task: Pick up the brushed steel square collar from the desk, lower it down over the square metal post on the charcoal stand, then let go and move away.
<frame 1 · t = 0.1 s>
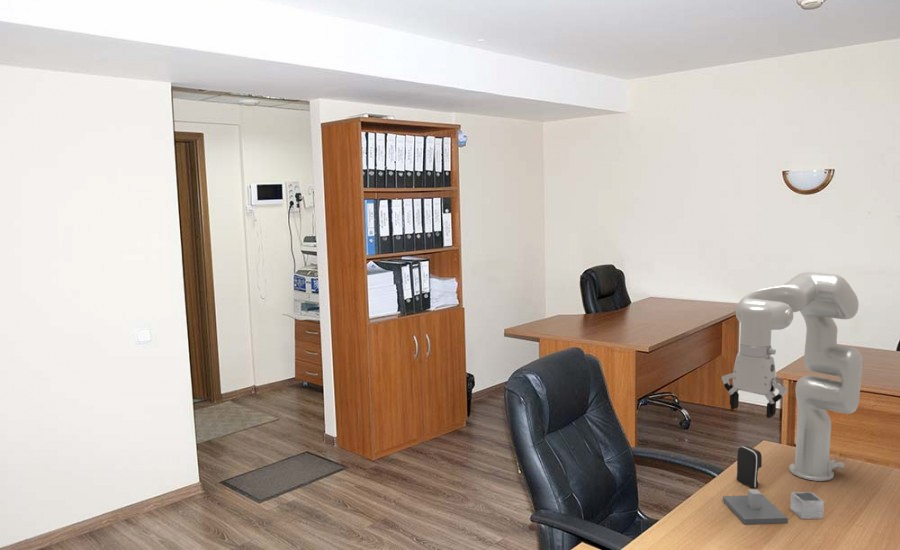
hand: (752, 412, 186), 31 cm above the table, tool pointing down, fingers open, 9 cm apart
stand: (753, 511, 195), on the table
collar: (806, 513, 193), on the table
battery charger: (748, 484, 213), on the table
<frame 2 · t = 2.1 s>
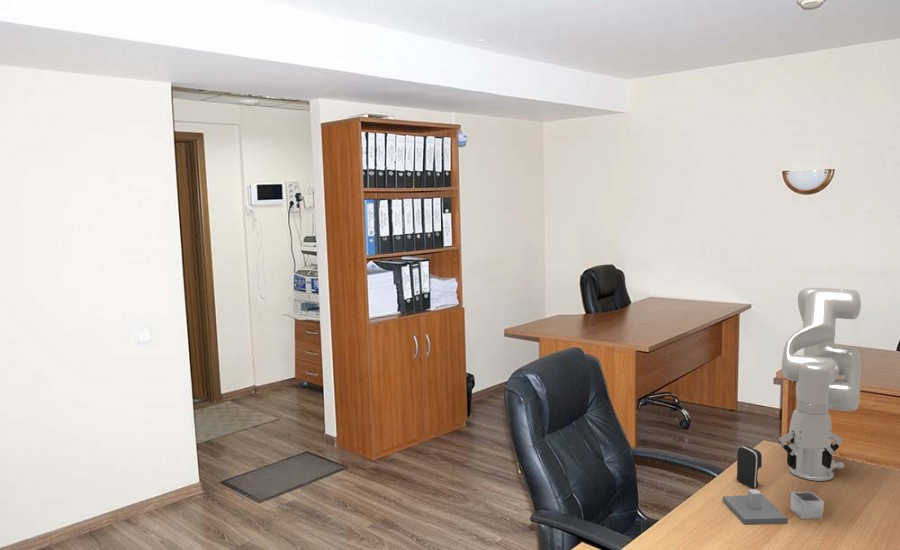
hand: (808, 467, 191), 14 cm above the table, tool pointing down, fingers open, 9 cm apart
nothing on the table moved.
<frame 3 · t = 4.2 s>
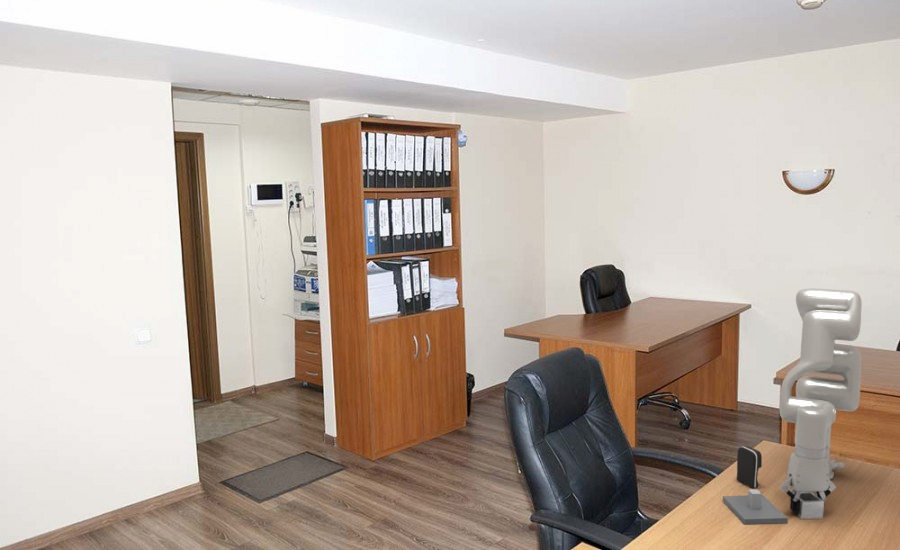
hand: (806, 511, 193), 1 cm above the table, tool pointing down, fingers closed on collar, 5 cm apart
collar: (806, 513, 193), on the table, touching gripper
everything else where it was.
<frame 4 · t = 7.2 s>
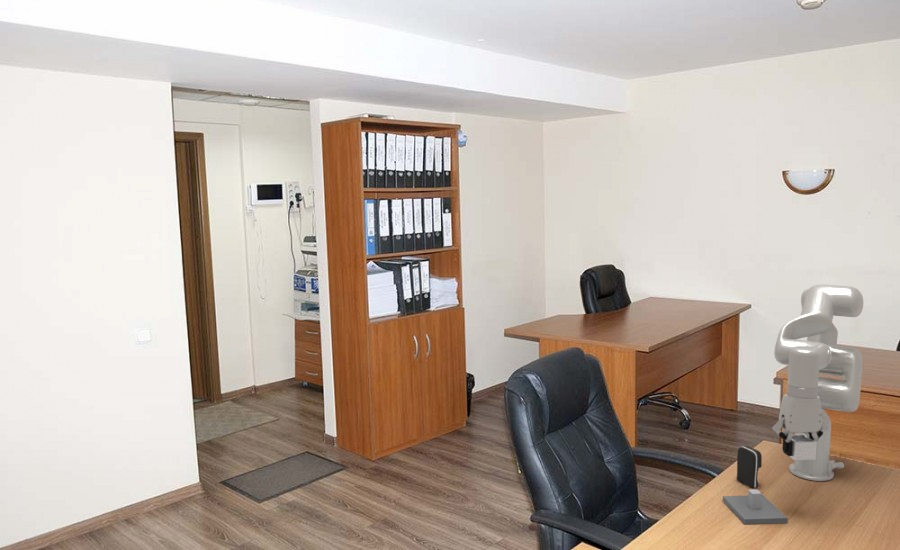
hand: (798, 453, 191), 18 cm above the table, tool pointing down, fingers closed on collar, 5 cm apart
collar: (798, 455, 191), point 17 cm above the table, touching gripper
everything else where it was.
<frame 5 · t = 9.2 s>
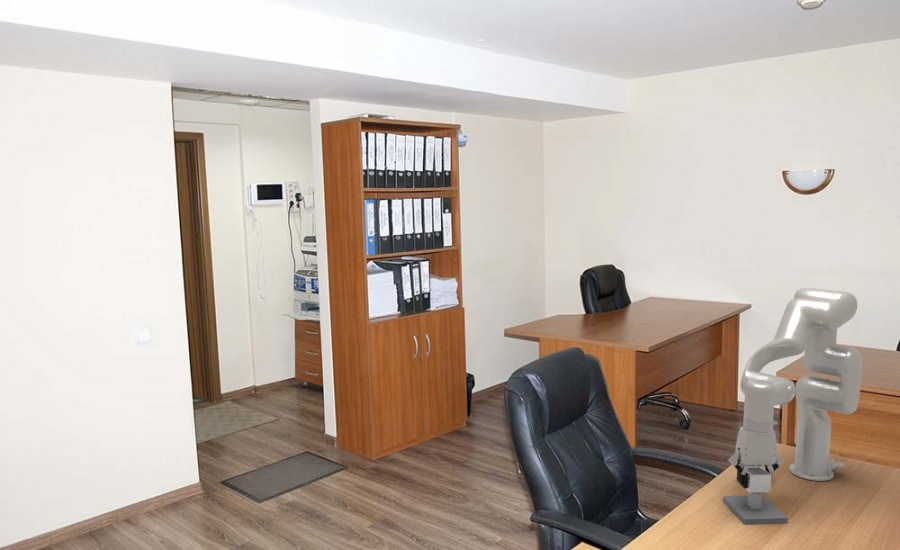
hand: (754, 485, 194), 8 cm above the table, tool pointing down, fingers closed on collar, 5 cm apart
collar: (754, 487, 194), point 7 cm above the table, touching gripper
everything else where it was.
when the fingers open (4 cm above the table, at t = 10.6 s): collar drops 1 cm, resting on stand.
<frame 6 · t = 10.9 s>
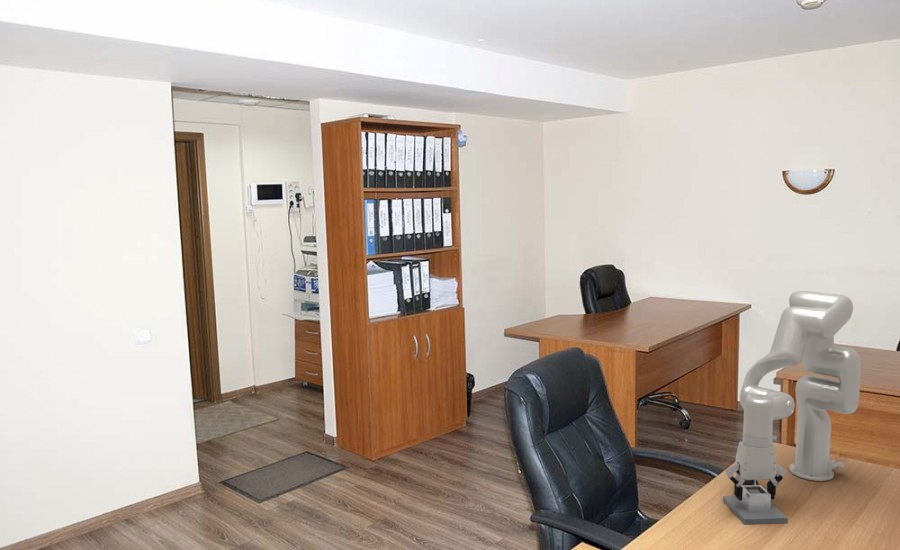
hand: (754, 497, 194), 4 cm above the table, tool pointing down, fingers open, 8 cm apart
collar: (754, 506, 195), point 1 cm above the table, touching stand
everything else where it was.
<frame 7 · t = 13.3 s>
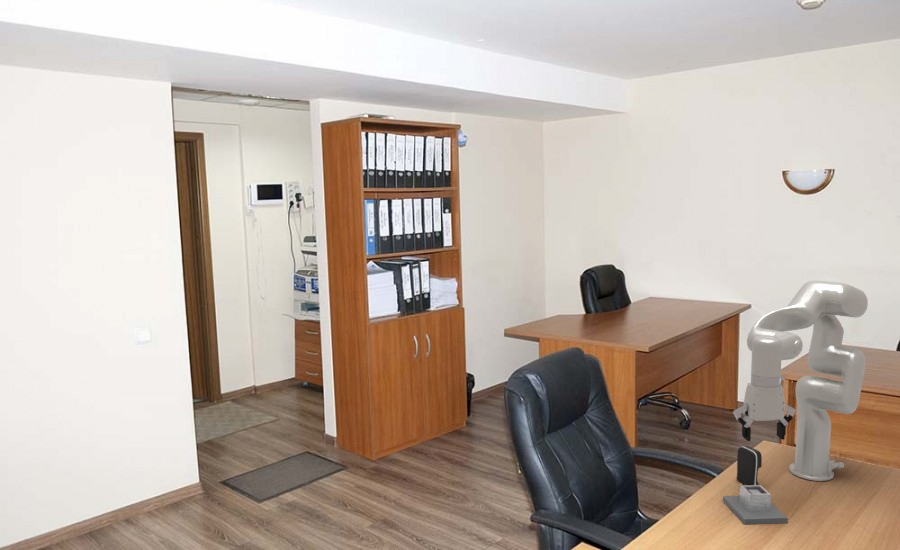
hand: (763, 438, 194), 21 cm above the table, tool pointing down, fingers open, 9 cm apart
nothing on the table moved.
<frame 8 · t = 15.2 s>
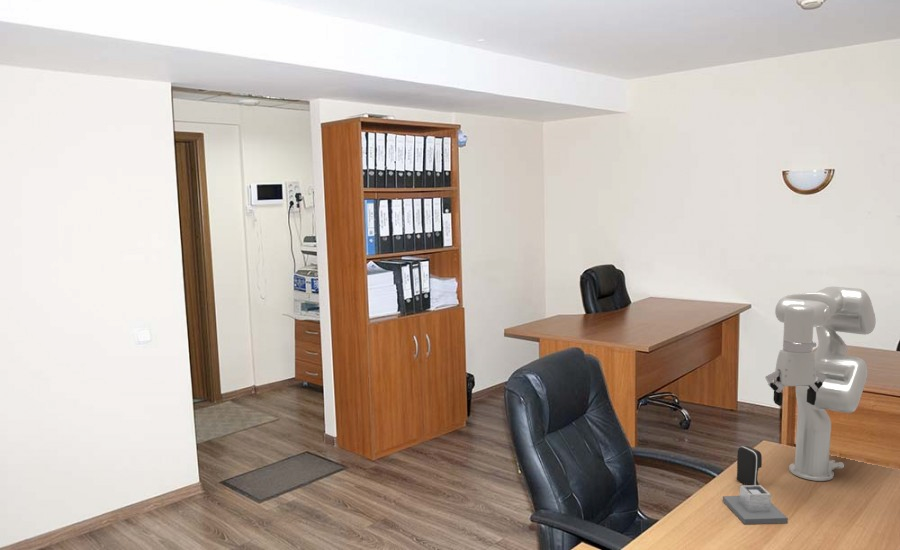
hand: (794, 404, 200), 28 cm above the table, tool pointing down, fingers open, 9 cm apart
nothing on the table moved.
at the end: collar 0.1 cm off-centre on the stand, point 1.5 cm above the stand's base; collar tilted 0°; the gripper is holding nothing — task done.
